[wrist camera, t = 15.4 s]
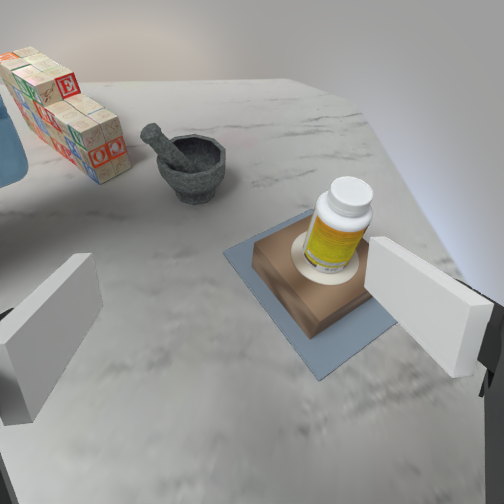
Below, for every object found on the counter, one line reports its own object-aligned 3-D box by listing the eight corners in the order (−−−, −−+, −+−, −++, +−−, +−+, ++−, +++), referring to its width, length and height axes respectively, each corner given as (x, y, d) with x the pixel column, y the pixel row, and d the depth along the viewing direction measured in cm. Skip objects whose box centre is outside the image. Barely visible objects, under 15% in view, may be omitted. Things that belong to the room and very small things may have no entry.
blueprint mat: (222, 253, 44) (222, 251, 44) (311, 210, 50) (312, 208, 50) (318, 381, 35) (319, 380, 34) (413, 309, 41) (415, 307, 40)
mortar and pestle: (217, 167, 55) (215, 98, 45) (234, 205, 50) (236, 136, 40) (150, 178, 52) (133, 107, 42) (160, 220, 47) (143, 150, 37)
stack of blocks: (133, 168, 53) (112, 94, 44) (100, 186, 50) (69, 112, 41) (61, 116, 61) (30, 44, 51) (29, 129, 58) (-12, 55, 48)
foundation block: (251, 266, 42) (254, 241, 38) (319, 230, 47) (328, 205, 43) (309, 340, 37) (320, 320, 33) (380, 291, 41) (397, 269, 37)
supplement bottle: (351, 276, 36) (388, 214, 28) (302, 273, 36) (325, 209, 28) (344, 238, 39) (375, 172, 31) (300, 235, 39) (319, 168, 31)
